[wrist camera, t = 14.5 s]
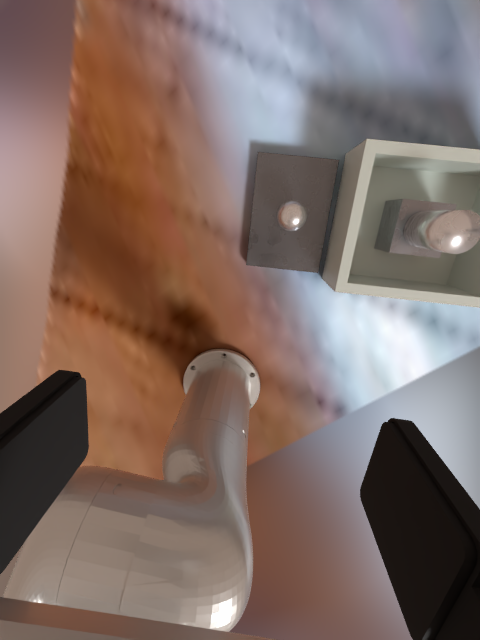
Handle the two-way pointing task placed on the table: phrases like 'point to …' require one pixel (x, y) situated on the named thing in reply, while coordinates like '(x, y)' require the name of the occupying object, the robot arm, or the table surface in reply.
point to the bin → (366, 212)
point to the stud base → (278, 192)
